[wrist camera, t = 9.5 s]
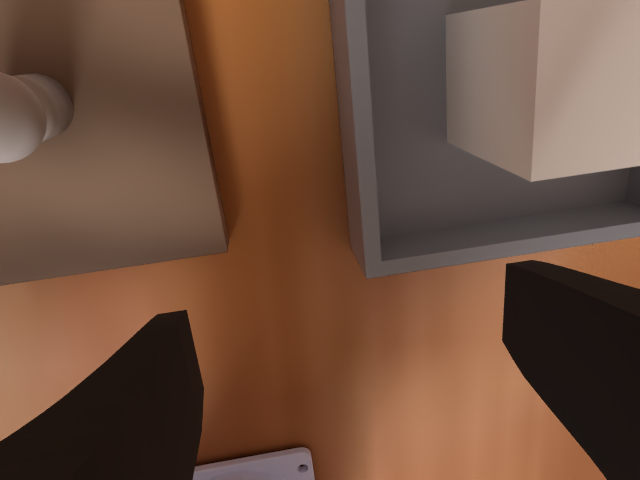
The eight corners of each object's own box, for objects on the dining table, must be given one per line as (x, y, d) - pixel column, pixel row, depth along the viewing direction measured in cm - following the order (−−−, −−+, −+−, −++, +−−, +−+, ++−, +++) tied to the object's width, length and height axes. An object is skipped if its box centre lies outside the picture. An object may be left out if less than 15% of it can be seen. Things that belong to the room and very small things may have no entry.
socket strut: (566, 1, 17) (716, -23, 12) (557, 127, 19) (685, 159, 13) (445, 15, 17) (540, -3, 11) (446, 142, 18) (531, 182, 13)
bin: (623, 207, 21) (679, 230, 19) (350, 247, 20) (366, 278, 18) (669, -129, 17) (751, -164, 14) (320, -97, 16) (334, -128, 13)
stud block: (228, 240, 20) (220, 305, 15) (-31, 278, 19) (-135, 361, 14) (160, -117, 15) (115, -200, 10) (-185, -87, 14) (-420, -162, 9)
